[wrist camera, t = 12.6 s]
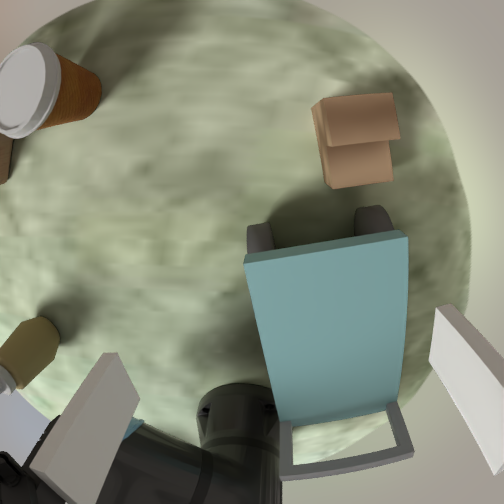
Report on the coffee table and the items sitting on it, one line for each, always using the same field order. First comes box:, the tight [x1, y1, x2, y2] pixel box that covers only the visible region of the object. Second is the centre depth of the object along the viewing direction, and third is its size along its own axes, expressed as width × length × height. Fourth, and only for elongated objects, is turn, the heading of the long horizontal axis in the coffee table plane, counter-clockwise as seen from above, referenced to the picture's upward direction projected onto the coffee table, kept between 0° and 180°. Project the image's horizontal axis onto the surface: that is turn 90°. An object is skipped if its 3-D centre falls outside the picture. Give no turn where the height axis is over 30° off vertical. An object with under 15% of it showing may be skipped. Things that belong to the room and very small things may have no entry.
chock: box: [311, 93, 400, 189], centre depth 26 cm, size 8×6×8 cm
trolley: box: [243, 205, 414, 481], centre depth 28 cm, size 22×13×18 cm, turn 11°
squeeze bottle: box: [0, 316, 60, 395], centre depth 34 cm, size 8×8×18 cm
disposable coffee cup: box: [0, 42, 102, 139], centre depth 24 cm, size 10×10×12 cm
